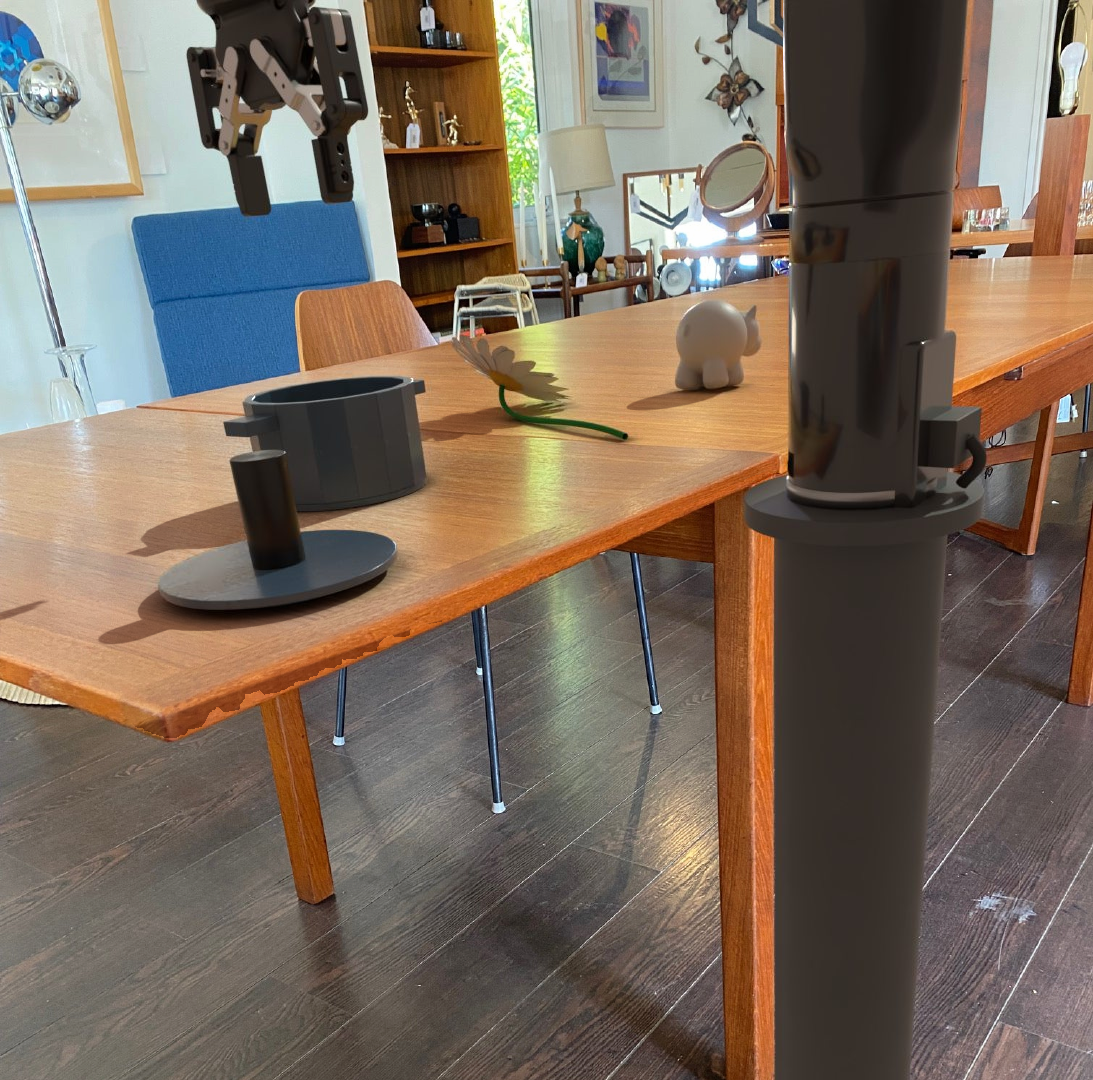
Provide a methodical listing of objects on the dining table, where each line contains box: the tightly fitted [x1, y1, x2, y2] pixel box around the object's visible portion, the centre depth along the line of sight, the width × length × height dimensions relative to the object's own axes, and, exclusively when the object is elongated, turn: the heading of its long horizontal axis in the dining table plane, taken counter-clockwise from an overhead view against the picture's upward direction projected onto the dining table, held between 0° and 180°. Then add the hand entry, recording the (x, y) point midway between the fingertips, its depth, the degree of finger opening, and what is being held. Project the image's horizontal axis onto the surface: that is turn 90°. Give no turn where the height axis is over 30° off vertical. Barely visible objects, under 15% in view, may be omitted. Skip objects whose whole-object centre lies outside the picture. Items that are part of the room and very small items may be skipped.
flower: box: [451, 334, 629, 441], centre depth 101 cm, size 13×6×30 cm
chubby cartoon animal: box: [674, 299, 763, 391], centre depth 110 cm, size 7×12×8 cm, turn 134°
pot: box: [222, 375, 428, 512], centre depth 80 cm, size 12×18×8 cm
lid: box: [157, 450, 399, 611], centre depth 60 cm, size 13×13×7 cm
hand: (296, 209), depth 72 cm, fingers open, 8 cm apart
